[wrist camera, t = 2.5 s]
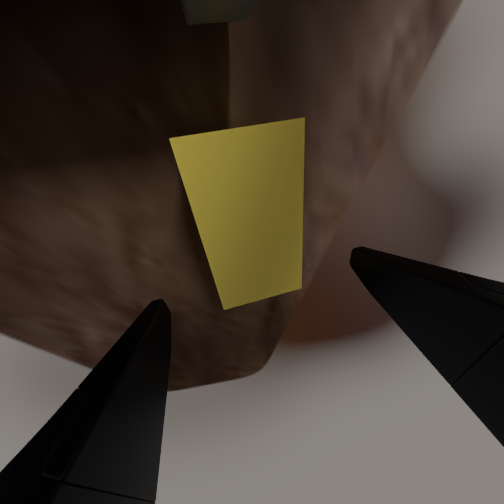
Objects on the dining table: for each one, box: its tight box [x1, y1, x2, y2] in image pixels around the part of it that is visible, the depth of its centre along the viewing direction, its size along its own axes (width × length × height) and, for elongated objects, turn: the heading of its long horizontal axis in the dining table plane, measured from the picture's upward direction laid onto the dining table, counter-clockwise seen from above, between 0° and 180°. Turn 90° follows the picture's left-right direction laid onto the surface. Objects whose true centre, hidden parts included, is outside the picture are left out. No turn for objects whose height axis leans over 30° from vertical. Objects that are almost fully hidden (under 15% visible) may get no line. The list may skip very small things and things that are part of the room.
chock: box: [169, 117, 305, 310], centre depth 10 cm, size 4×8×5 cm, turn 8°
